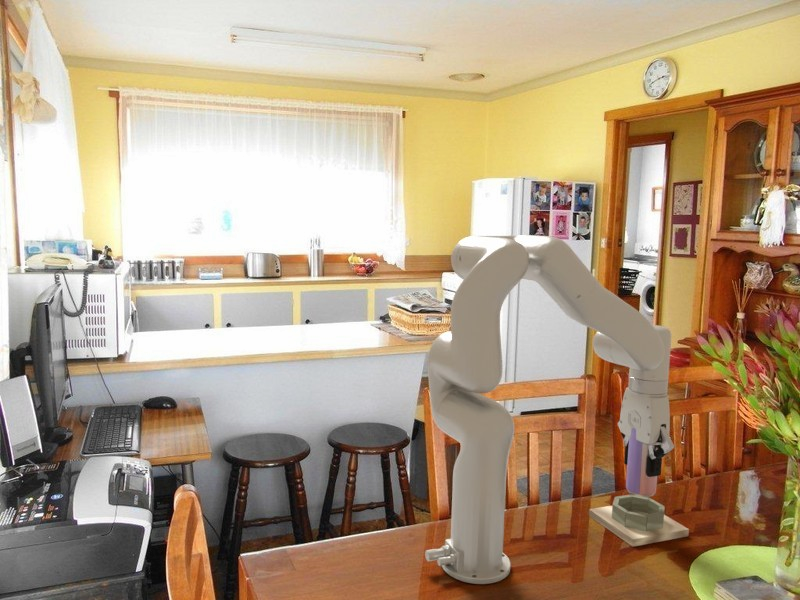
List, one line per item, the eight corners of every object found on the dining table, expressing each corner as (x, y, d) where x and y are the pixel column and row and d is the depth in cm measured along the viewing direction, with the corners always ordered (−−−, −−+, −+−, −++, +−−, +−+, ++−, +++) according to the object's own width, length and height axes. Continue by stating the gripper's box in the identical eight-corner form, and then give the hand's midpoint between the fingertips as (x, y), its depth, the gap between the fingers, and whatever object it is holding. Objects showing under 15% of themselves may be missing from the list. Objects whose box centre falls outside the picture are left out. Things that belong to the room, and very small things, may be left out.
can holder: (632, 546, 129) (634, 525, 128) (588, 515, 142) (590, 495, 141) (688, 536, 134) (690, 515, 133) (640, 507, 147) (642, 488, 146)
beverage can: (623, 494, 136) (628, 424, 134) (628, 484, 141) (632, 416, 139) (653, 500, 133) (659, 429, 131) (657, 489, 138) (662, 421, 136)
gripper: (605, 376, 141) (600, 457, 143) (663, 398, 125) (657, 488, 127) (633, 374, 143) (628, 453, 146) (694, 395, 127) (687, 483, 130)
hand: (642, 468), depth 136 cm, fingers closed on beverage can, 6 cm apart
